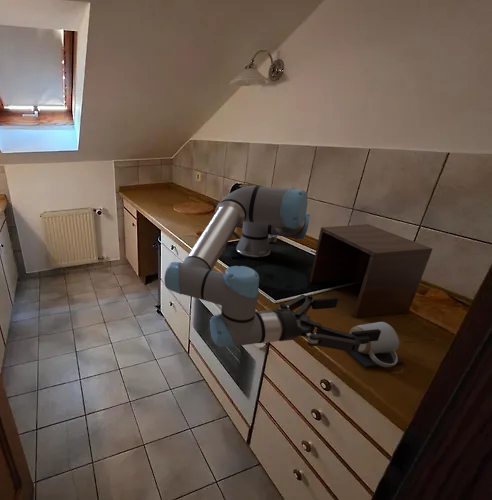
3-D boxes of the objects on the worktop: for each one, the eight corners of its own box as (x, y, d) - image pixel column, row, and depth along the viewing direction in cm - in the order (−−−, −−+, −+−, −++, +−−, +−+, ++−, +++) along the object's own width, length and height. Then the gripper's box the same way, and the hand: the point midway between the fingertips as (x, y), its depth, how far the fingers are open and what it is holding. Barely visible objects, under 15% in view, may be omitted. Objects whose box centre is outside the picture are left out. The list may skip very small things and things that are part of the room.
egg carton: (255, 236, 162) (256, 229, 160) (269, 235, 162) (270, 228, 160) (263, 243, 152) (264, 236, 150) (278, 242, 152) (279, 235, 151)
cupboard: (309, 281, 115) (320, 227, 106) (352, 278, 117) (367, 224, 108) (355, 317, 93) (375, 253, 85) (408, 312, 95) (432, 248, 86)
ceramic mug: (343, 341, 82) (350, 318, 79) (371, 338, 83) (379, 316, 80) (374, 370, 73) (384, 346, 70) (405, 367, 73) (416, 343, 70)
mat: (336, 341, 84) (337, 339, 83) (369, 338, 85) (370, 335, 84) (365, 368, 75) (366, 365, 74) (401, 363, 75) (402, 361, 75)
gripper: (250, 309, 85) (319, 302, 87) (302, 376, 62) (395, 365, 64) (253, 286, 82) (324, 280, 84) (309, 348, 60) (406, 338, 61)
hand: (355, 317), depth 74 cm, fingers open, 13 cm apart
